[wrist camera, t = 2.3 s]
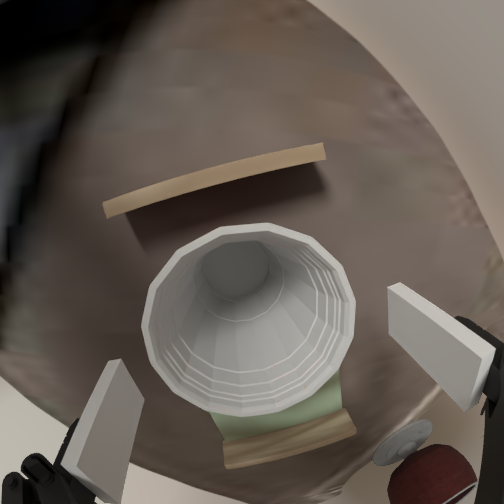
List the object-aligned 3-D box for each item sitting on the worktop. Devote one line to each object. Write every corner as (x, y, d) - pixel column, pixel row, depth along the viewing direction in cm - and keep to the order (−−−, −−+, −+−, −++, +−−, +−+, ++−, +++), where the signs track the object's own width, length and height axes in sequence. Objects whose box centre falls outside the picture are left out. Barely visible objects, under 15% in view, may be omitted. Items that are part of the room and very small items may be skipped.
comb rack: (119, 197, 22) (101, 202, 18) (305, 147, 23) (322, 142, 19) (225, 446, 31) (227, 469, 27) (345, 413, 32) (356, 434, 28)
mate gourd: (365, 444, 35) (415, 539, 16) (437, 402, 35) (500, 479, 16) (370, 476, 39) (406, 549, 20) (430, 443, 39) (475, 506, 20)
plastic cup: (308, 208, 24) (383, 240, 13) (287, 323, 27) (329, 412, 15) (178, 193, 23) (139, 212, 11) (170, 315, 25) (146, 409, 14)
